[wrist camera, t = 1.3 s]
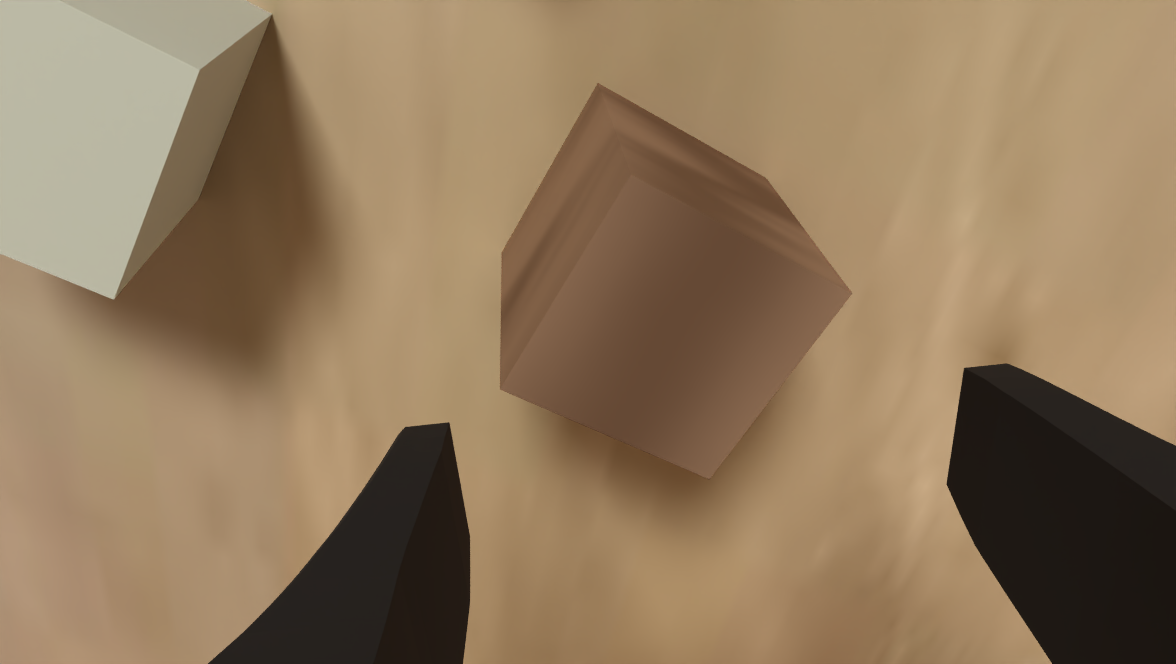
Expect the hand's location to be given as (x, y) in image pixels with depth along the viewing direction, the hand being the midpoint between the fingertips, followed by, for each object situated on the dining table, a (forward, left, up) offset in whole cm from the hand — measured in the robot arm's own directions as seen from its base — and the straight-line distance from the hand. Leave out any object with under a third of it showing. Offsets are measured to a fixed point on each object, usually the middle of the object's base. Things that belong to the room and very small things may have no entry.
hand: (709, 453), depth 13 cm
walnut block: (0, 0, -10) cm, 10 cm away
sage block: (+11, +2, -10) cm, 15 cm away
